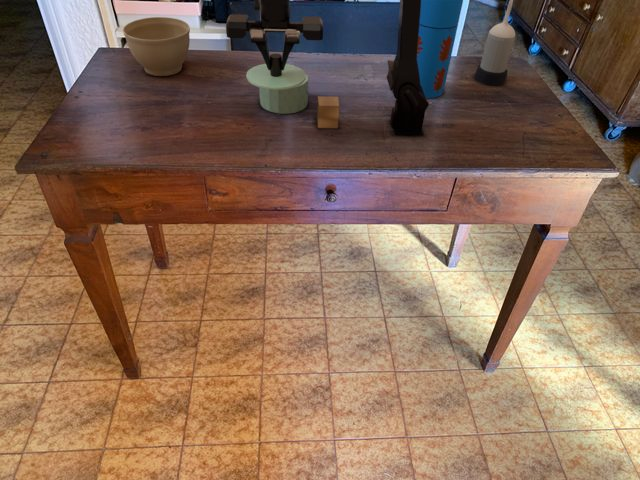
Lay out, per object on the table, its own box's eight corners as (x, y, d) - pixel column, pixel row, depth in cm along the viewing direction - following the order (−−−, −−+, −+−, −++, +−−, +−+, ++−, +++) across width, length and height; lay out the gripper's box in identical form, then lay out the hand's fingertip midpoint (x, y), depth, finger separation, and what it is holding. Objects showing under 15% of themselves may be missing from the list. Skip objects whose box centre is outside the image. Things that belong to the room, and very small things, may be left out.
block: (336, 118, 117) (337, 96, 113) (337, 128, 113) (339, 105, 110) (317, 118, 116) (317, 96, 113) (317, 128, 113) (318, 105, 109)
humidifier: (502, 74, 140) (530, -24, 123) (507, 86, 134) (538, -15, 117) (472, 71, 140) (497, -27, 124) (476, 84, 134) (502, -18, 118)
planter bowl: (120, 77, 129) (110, 34, 121) (150, 54, 140) (143, 13, 133) (178, 86, 126) (171, 42, 119) (204, 62, 138) (199, 21, 131)
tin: (306, 92, 126) (307, 67, 122) (308, 114, 118) (308, 88, 114) (261, 91, 126) (260, 66, 121) (259, 113, 117) (258, 87, 113)
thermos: (442, 82, 134) (463, -20, 118) (445, 99, 126) (469, -7, 110) (401, 78, 135) (416, -23, 118) (402, 96, 127) (419, -11, 110)
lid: (305, 68, 111) (305, 45, 108) (305, 93, 102) (306, 68, 98) (248, 67, 110) (247, 43, 107) (244, 91, 101) (242, 67, 98)
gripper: (322, -22, 101) (319, 55, 111) (228, -25, 100) (234, 53, 110) (324, -5, 92) (321, 76, 103) (222, -9, 91) (229, 74, 102)
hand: (276, 69), depth 105 cm, fingers closed on lid, 2 cm apart
